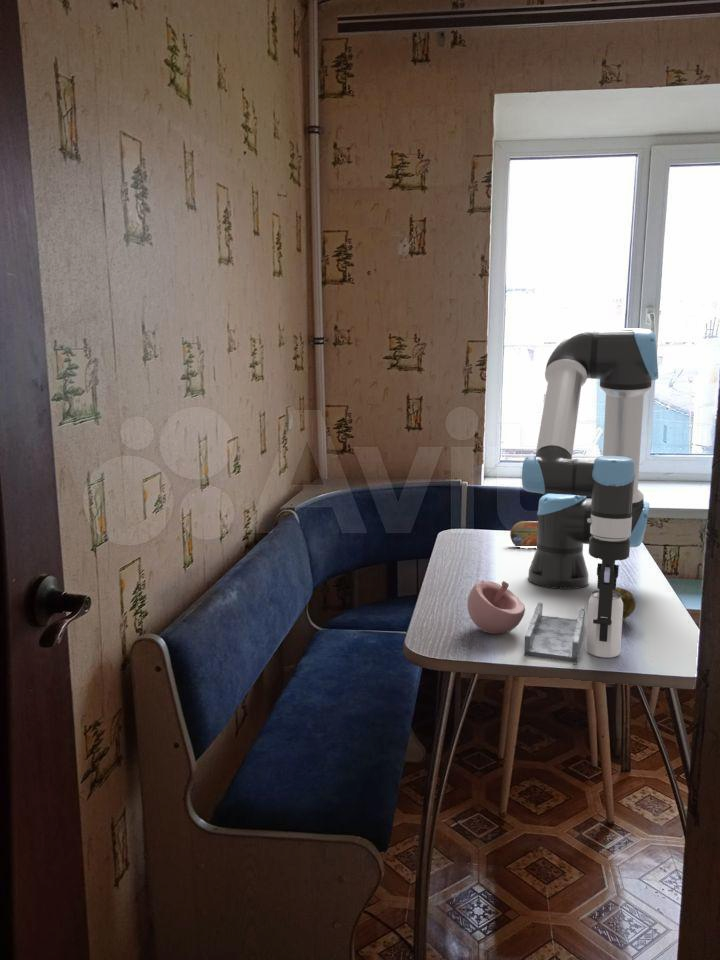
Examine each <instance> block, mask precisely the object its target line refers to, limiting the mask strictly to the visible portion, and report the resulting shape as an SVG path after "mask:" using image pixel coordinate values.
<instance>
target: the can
mask: <svg viewBox="0 0 720 960" xmlns="http://www.w3.org/2000/svg"><path fill="white" fill-rule="evenodd" d="M591 595H592V596H591ZM591 595H590V596H591V597H589V598H588V608H587V609H588V610H587V611H588V612H587V622H586V623H587V626H586V630H587V631H586V648H585V649H586V651H587V652H588V654H590V655H591V656H594V657H597V658H601V659H614V658H617V657H618V656H620V654H621V648H622V646H621V645H622V631H623V619H624V618H623V602H622V599H621V594H619V593H617V592H614V591H613V598H612V613H611V621H612V627H611V643H610V657H602V656H595V642H596V625H597V624H595V623H593V619H595V620H597V617H598V602H599V589H597V590H593V591H591ZM601 618H607V617H601Z"/></svg>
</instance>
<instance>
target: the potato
mask: <svg viewBox="0 0 720 960" xmlns="http://www.w3.org/2000/svg"><path fill="white" fill-rule="evenodd" d="M614 592H617V593H619V594H621V599H622V602H623V618H622V619H626V618H628V617H630V615H631V614H632V613H634V611H635V610H636V600H635V598H634V596H633V594H632V593H631V592H630V591H629V590H627V589H625V588H620V587H616V590H615V591H614ZM591 596H592V594H591V595H590V597H591ZM590 597H589V598H590Z"/></svg>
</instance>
